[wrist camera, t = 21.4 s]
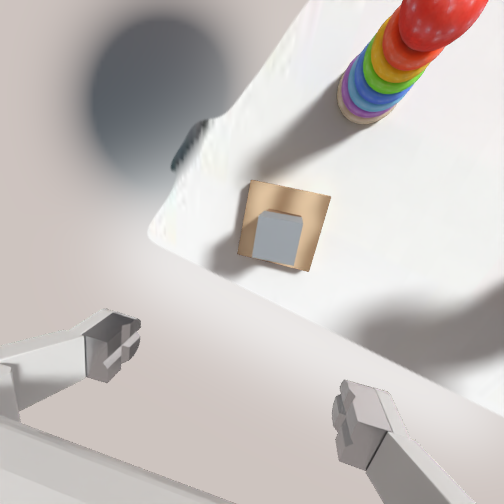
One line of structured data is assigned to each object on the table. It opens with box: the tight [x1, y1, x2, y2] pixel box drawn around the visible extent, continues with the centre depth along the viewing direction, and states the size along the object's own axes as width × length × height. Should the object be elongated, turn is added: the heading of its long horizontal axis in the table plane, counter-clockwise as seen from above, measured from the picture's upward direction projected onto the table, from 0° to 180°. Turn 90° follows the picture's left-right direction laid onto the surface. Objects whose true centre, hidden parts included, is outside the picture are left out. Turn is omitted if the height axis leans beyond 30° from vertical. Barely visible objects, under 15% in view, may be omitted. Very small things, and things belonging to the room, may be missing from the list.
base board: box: [237, 180, 331, 272], centre depth 37 cm, size 12×12×2 cm
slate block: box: [252, 211, 303, 266], centre depth 29 cm, size 5×5×5 cm
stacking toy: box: [337, 0, 488, 124], centre depth 22 cm, size 8×8×19 cm
